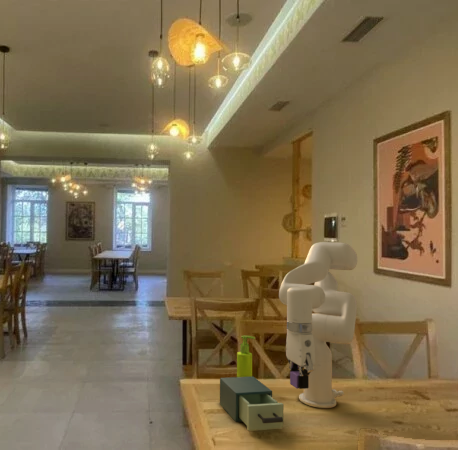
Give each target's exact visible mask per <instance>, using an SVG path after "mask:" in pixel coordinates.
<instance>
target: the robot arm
mask: <svg viewBox="0 0 458 450" xmlns="http://www.w3.org/2000/svg"><path fill="white" fill-rule="evenodd" d="M357 265H358V254H357V252H356V250H355V248H354V247H352V246H351V244H348V243H346V242H340V241H338V242H335V241H334V242H333V241H319V242H315V243H313V244H312V245H311V247H310V249H309V250H308V252H307V256H306V258H305V261H304V263H303V264H300V265H299V266H297V267H295V268H294V269H291V270H290V271H289V272H287V274H285V276H284V277H283V279H282V282H281V284H280V287H279V291H278V299H279V301H280V303H281V304H283V305H285V306H286V339H285V340H286V341H285V356H286V359H287V361H288V364H289V367H288V369H289V372H290V371H299V373H300V375H298V389H299V390H303V392H301V393H300V394H299V395H298V399H299V401H300V402H301V403H302V404H304V405H307V406H309V407H312V408H319V409H331V408H334V407H336V406H337V400H336V398H337V397H340V398H341V397H344V396H345V392H344V391H343V390H336V389H333V354H332V351H331V349H330V347H329V346H328V344H327V343H332V344H339V345H349V344H351V343H352V342H353V340H354V336H355V329H356V321H357V311H358V303H357V298H356V296H355V295H354V294H353V293H352V292H348V291H338V288H339V283H338V280H337V279H336V277H335V276H334V275H333V274H332V273H331V272H330V271H329V270H338V271H352V270H354V269H356V267H357Z"/></svg>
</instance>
